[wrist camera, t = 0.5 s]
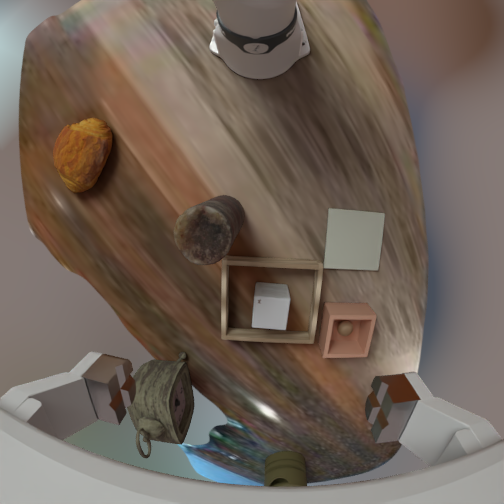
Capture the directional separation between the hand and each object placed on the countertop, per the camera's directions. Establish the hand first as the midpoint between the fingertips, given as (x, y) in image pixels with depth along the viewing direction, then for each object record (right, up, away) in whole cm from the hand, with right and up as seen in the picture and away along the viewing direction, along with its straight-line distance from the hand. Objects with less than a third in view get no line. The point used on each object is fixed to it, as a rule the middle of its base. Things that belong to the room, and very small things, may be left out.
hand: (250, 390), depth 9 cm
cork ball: (+18, -10, +45) cm, 50 cm away
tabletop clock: (-17, -23, +53) cm, 60 cm away
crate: (+4, -4, +47) cm, 47 cm away
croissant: (-34, +25, +43) cm, 60 cm away
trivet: (+19, +7, +44) cm, 48 cm away
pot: (+18, -10, +47) cm, 52 cm away
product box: (+4, -4, +47) cm, 47 cm away
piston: (+9, -55, +59) cm, 81 cm away
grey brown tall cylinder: (-5, +11, +44) cm, 46 cm away
